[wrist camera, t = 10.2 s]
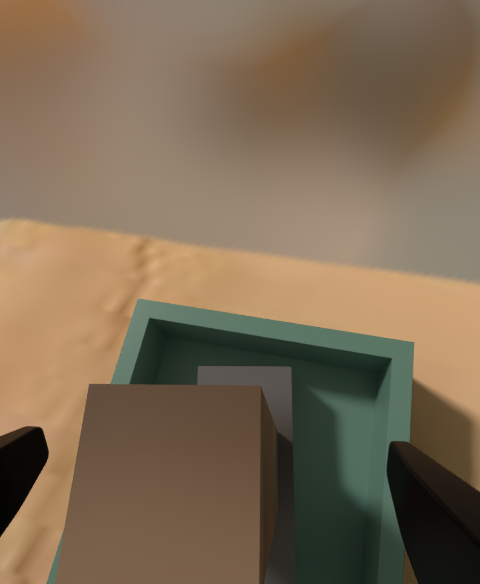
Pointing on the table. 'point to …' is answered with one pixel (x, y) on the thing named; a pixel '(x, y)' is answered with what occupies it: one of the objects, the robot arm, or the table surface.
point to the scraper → (184, 482)
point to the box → (303, 423)
